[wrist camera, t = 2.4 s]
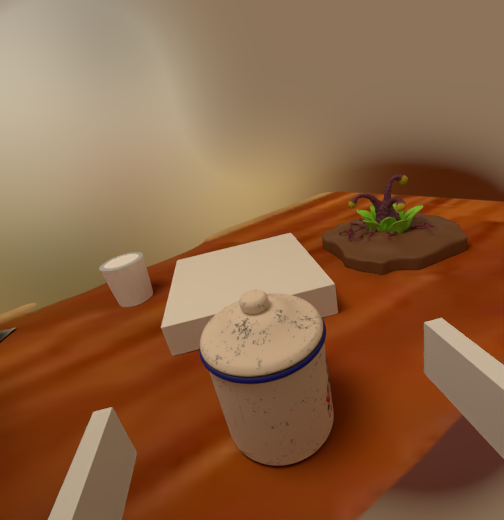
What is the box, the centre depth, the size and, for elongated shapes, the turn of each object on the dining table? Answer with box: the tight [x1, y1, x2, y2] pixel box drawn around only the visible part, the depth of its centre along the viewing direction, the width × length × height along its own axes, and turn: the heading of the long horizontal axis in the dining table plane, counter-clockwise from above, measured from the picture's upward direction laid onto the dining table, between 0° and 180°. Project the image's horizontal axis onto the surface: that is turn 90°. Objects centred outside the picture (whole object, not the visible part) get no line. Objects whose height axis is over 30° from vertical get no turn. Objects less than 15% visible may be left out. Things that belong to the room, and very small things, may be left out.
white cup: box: [99, 252, 153, 307], centre depth 50 cm, size 7×7×7 cm
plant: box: [322, 174, 467, 275], centre depth 49 cm, size 20×20×11 cm
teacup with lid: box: [199, 289, 334, 466], centre depth 24 cm, size 12×9×12 cm
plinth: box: [161, 233, 338, 356], centre depth 44 cm, size 20×20×4 cm
